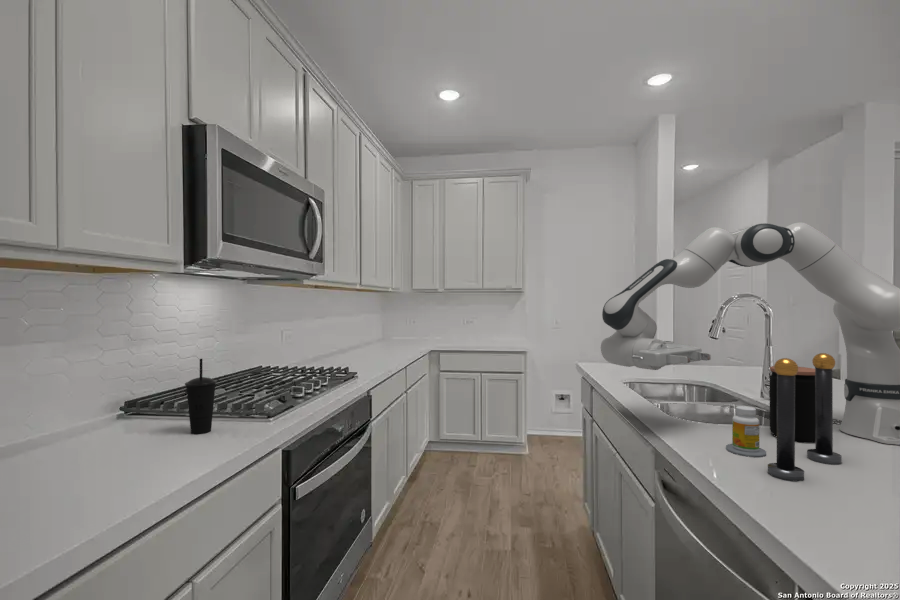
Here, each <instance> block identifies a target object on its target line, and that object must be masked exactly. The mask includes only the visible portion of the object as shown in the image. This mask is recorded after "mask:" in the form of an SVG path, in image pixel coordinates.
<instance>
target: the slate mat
mask: <svg viewBox="0 0 900 600" xmlns="http://www.w3.org/2000/svg"><path fill="white" fill-rule="evenodd" d="M725 449H726V451H727V452H729V453H731V454H735V455H737V454H738V455H737V456H743V457H748V456H749V457H750V458H763V456H764V457H767V451H766V450H765V449H764V448H762V447H759V451H757V452H746V451H741V450H738V449H735V448H734V447H733V445H732V443H727V445H725Z"/></svg>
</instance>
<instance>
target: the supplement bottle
mask: <svg viewBox="0 0 900 600" xmlns="http://www.w3.org/2000/svg"><path fill="white" fill-rule="evenodd" d="M735 414H736V415H733V417H732V434H731V435H732V443H731V444H732V445H733V447H734V448H735V449H738V450H741V451H746V452H757V451H759V448H760V419H758V418H757V417H756V415H757V409H756V408H755V407H752V406H747V405H746V406H745V405H738V406H735Z"/></svg>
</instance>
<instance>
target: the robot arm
mask: <svg viewBox="0 0 900 600" xmlns="http://www.w3.org/2000/svg"><path fill="white" fill-rule="evenodd" d="M778 259H781V260H783V261H784V262H786V263H788V264H789V265H790V266H791V267H792V268H793V269H794V270H795V271H796V272H797V273H799V275H801V276H802V277H803V278H804V279H805V281H807V282H808V283H809V284H810V285H812V287H814V288H815V289H816V290H817V291H819V292H820V293H822V294H824V295H826V296H827V297H829V298H831V300H834V303H833V309H832V310H833V313H834V316H835V317H836V318H837V321H838V322H839V325H840V329H841V332H842V333H841V334H842V337H843V341H844V345H845V353H846V378H845V379H844V385H843V386H844V387H843V389H844V390H843V391H844V393H843V394H844V400H845V405H844V413H843V416H842V420H841V422H840V426H839V431H841V432H842V433H844V434H848V435H851V436H855V437H859V438H862V439H866V440H871V441H875V442H878V443H881V444H888V445H899V446H900V347H899V346H898V345H897V342H896V340H895V336H894V332H895V331H899V330H900V287H898V286H896V285H894V284H893V283H891V282H890V281H889V280H887V279H885V278H884V277H882V276H880V275H879V274H877V273H875V272H874V271H872V270H870V269H868V268H867V267H866V266H863V264H861V263H859V261H857V260H856V259H854V258H853V257H852V256H851V255H850V254H849V253H848V252H846V250H844V249H843V248H841V246H839V245H838V244H837V243H836V242H835V241H833V240H832V239H831V238H830V237H828V236H827V235H826V234H824V233H823V232H822V231H820V230H818V229H817V228H815V227H814V226H812V225H810V224H808V223H806V222H803V221H800V222H794V223H791V224H789V225H786V226H779V225H777V224H772V223H765V222H764V223H758V224H754V225H751V226H749V227H747V228H745V229H743V230H741V231H740V232H738V233H736V234H735V233H731V232H729V230H727V229H725V228H721V227H718V226H716V227H715V226H714V227H713V226H712V227H710V228H707V229H706V230H704V231H702V232H701V233H700V234H699V235H697V236H696V237H695V238H694V239H692V240H691V242H689V243H688V245H686V246H685V247H684V248H683V250H682V251H680V252H679V253H678V254H677V255H675V256H673V257H671V258H665V259H663V260H661V261H659V262H656V264H654V265H653V266H652V267H650V268H649V269H648V270H647V271H645V272H644V273H643V274H642V275H640V276H639V277H637V279H635V280H634V281H633V282H632V283H631V284H629V285H628V286H627V287H626V288H624V289H623V290H622V291H621V292H618V293H617V294H616V295H613V296H612V297H611V298H609V299H608V300H606V302H605V303H604V305H603V307H602V314H601V317H602V321H603V323H604V324H605V325H606V326H608V327H610V328H612V329H614V330H615V332H614V333H613V334H611V335H610V336H608V337H606V338H604V339H603V340H602V341H601V343H600V352H601V355H602V357H603V358H604V360H605V361H606V362H607V363H608V364H609V363H610V364H612V365H616V366H619V367H621V366H622V367H626V368H627V367H628V368H629V367H630V368H631V367H635V368H638V369H642V370H651V371H658V370H660V369H662V368H663V367H665V366H672V365H673V366H674V365H679V364H683V365H687V364H690V363H691V362H692V363H693V362H699V361H711V359H712V358H711V357H712V355H711V353H708V352H707V353H706V352H703V351H702V348H701V347H699V346H694V345H689V344H688V345H686V344H680V343H675V342H674V341H671V340H663V339H658V338H655V336H656V334H657V330H658V329H657V328H658V327H657V323H656V321H655V320H654V319H653V318H652V317H651V316H650V315H649V314H648V313H646V312H645V311H644V310H643V309H642V308H640V306H639V304H640V303H641V302H643V301H644V300H645V299H647V298H648V297H649V296H650V295H651V294H652V293H654V292H655V291H656V290H658V288H660V287H663V286H664V285H674V286H677V287H682V288H686V289H695V288H698V287H701V286H702V285H704V284H706V283H707V282H708V281H709V280H711V278H712V277H713V276H714V275H715V274H716V273H717V272H718V271H719V270H720V269H721V268H722V266H724V265H725V264H726V263H728V262H730V263H732V264H735V265H736V266H739V267H745V268H748V267H758V266H763V265H765V264H767V263H770V262H773V261H775V260H778Z"/></svg>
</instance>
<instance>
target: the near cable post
mask: <svg viewBox="0 0 900 600" xmlns="http://www.w3.org/2000/svg"><path fill="white" fill-rule="evenodd" d="M798 365H799V364H797V362H796V361H794V360H793V359H791V358H787V357H782V358H780V359H778V360H776V362H774V365H773V366H774V370H775V372H776V373H777V437H776V462H770V463H768V464H767V474H768V475H770V476H771V477H773V478H776V479H779V480H784V481H789V482H802V481H804V480H805V471H804V469H802V468H801V467H798V466H796V463H795V462H796V460H795V459H796V457H795V455H796V442H795V375H796V374H797V372H798V367H799V366H798Z"/></svg>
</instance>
